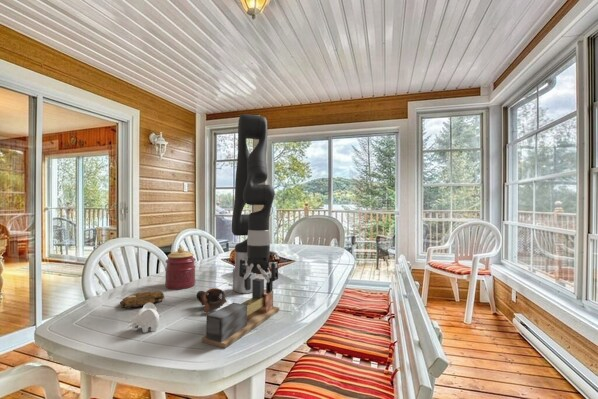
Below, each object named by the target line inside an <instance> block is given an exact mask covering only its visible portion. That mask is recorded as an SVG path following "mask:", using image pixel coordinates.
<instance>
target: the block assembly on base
mask: <svg viewBox="0 0 598 399" xmlns="http://www.w3.org/2000/svg"><path fill="white" fill-rule="evenodd" d="M264 296H265V305H264V306H263V307H261V308H259V309H258V310H256V311H254V312H253V313H251V314H249V315H248V316H247V305H245V304H241V303H239V302H231V303H229V304H228V305H225V306H224V307H223V306H222V308H221V307H220V308H218V309H216V311H215V310H214V312H211V313H209V314H207V315H206V325H205V326H206V334H205V336H203V337H202V338H201V343H204V344H208V345H212V346H215V347H219V348H223V349H227V348H228V347H230V346H231V345H232V344H234V343H236V342H237V341H238V340H239V339H241V338H242V337H244V336H245V335H247V334H248V333H250V332H252V330H254V329H255V328H257V327H258V326H260V325H261V324H263V323H264V322H265V321H267V320H269V319H270V318H271V317H273V316H274V315H276V314H277V313H279V312H280V306H274V291H273V290H272V291H271V293H269V294H267V293H266V288H264ZM278 311H279V312H278Z"/></svg>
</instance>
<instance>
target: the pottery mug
mask: <svg viewBox="0 0 598 399" xmlns="http://www.w3.org/2000/svg"><path fill="white" fill-rule="evenodd" d="M220 295H222V297H220ZM226 297H227V295H226V293H225V291H224V290H222V289H220V288H219V287H218V288H217V287H213V288H208V289H207V290H206V291H204V290H199V291H198V292H196V299H197V300H198V302H200V304H201V307H202V306H204V308H203V311H204V313H206V314H208V313H209V312H212V311H215V310H219V309H221V307H223V306H224V304H226V303H228V302H227V298H226Z"/></svg>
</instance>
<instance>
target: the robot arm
mask: <svg viewBox="0 0 598 399" xmlns="http://www.w3.org/2000/svg"><path fill="white" fill-rule="evenodd" d="M237 123H238V125H237V159H236V160H237V161H236V168H235V169H236V170H235V183H234V204H233V209H232V210H233V211H232V219H231V232H232V235H233V236H239V237H241V236H246V237H247V238H246V239H245V240H243V241H241V242H239V243H236V244H235V246H234V268H232V291H234V292H235V293H239V294H251V293H252V281H253V280H254V279H256V278H257V274H258V275H261V276H262V277H263V278H264V280H265V281H266V282H265V283H266V284H265V285H266V286H265V290H266V293H267V294H269V293H271V291H273V289H274V288H273V286H274V285H273V282H275V281H278V279H279V263H278V261H270V253H271V252H270V251H271V250H270V247H271V244H270V243H271V234H270V214H271V210H272V205H273V202H274V200H275V189H274V187H273V186H272V185H271V184H266V181H267V179H268V167H267V166H268V165H267V152H268V151H267V149H268V120H267V118H266V117H265V116H262V115H257V114H249V113H248V114H246V113H242V114H240V115H239V118H238V122H237ZM247 139H248V140H258V142H257V144H256V145H255V148H253V150H252V151H251V152H250V150H249V148H248V144H247ZM264 183H265V184H264ZM246 205H248V206H263V207H262V208H261V210H258V211H253V212H251V213H249V214H248V213H247V214H246V213H245V214H243V211H244V208H245V206H246ZM270 269H271V270H270Z"/></svg>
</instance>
